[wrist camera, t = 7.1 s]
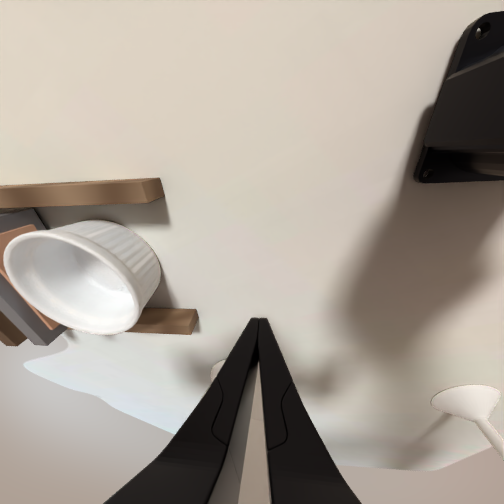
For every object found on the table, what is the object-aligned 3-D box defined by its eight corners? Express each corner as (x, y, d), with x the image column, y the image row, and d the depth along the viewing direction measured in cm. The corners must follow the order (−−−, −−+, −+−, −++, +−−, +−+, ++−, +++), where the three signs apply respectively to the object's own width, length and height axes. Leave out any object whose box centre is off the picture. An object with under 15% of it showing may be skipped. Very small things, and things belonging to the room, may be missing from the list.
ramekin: (97, 187, 13) (27, 202, 9) (188, 270, 16) (163, 307, 12) (52, 250, 16) (-15, 280, 12) (134, 310, 19) (100, 349, 15)
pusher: (36, 208, 14) (-57, 230, 10) (97, 305, 19) (50, 345, 15) (19, 209, 14) (-79, 231, 10) (84, 304, 19) (34, 345, 15)
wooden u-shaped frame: (159, 177, 12) (115, 188, 9) (198, 317, 19) (181, 356, 15) (-50, 188, 14) (-157, 200, 10) (51, 312, 20) (6, 345, 17)
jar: (195, 381, 25) (111, 633, 12) (217, 339, 20) (117, 691, 7) (265, 403, 26) (259, 653, 13) (302, 368, 21) (353, 714, 8)
